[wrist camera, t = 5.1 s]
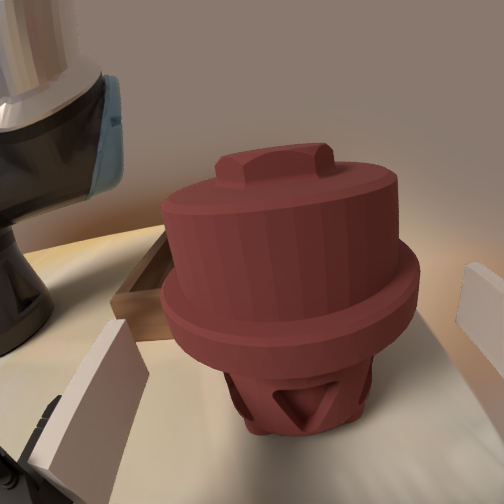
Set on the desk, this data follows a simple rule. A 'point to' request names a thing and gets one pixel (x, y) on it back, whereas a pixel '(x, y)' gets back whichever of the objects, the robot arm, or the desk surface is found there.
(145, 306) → the walnut tray
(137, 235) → the desk surface
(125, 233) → the desk surface
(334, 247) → the mechanical component
